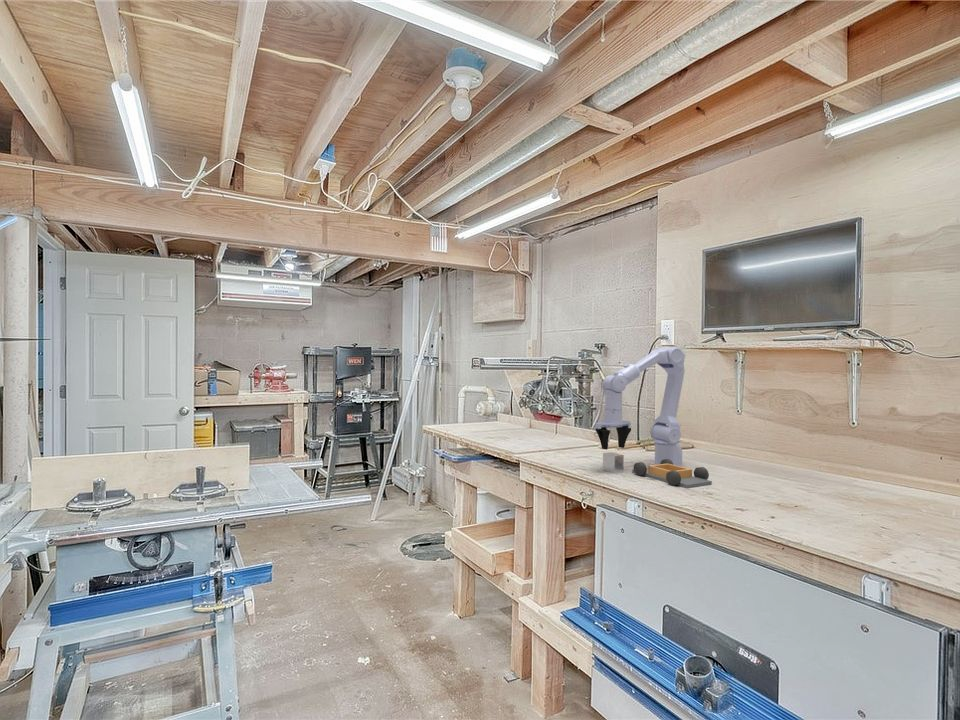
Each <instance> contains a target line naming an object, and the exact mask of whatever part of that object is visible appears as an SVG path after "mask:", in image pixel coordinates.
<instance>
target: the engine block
mask: <svg viewBox="0 0 960 720" xmlns="http://www.w3.org/2000/svg"><path fill="white" fill-rule="evenodd" d="M624 457H625V456H624V455H623V454H620V453H615V452H614V451H613V452H612V451H610V452H602V471H605V472H609V473H612V474H623V473H624V464H625V463H624Z"/></svg>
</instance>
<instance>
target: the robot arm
mask: <svg viewBox="0 0 960 720" xmlns="http://www.w3.org/2000/svg"><path fill="white" fill-rule="evenodd" d="M685 359H686V354H685V353H684V351H683V350H682V348H680V347H679V346H673V347H672V346H671V347H669V346H668V347H662V346H659V347H657V348H655V349H653V350H651V351H650V353H649V354H647V355H646V356H644V357H642V358H641V359H640V360H639V361H637V362H636V363H635V364H632V363H629V364H628V363H626V364H623V367H622V368H621V369H619V370H618V371H617V370H616V371H614V372H613V374H611V375H607V376H605V377H604V379H603V381H602V383H601V387H602V388H603V390H604V395H605V396H604V397H605V398H604V402H605V403H604V405H605V406H604V420H603V421H599V422H595V425H594V427H595V428H594V429H595V432H596V434H597V436H598V438H599V442H600V445H601V449H602V450H608V449H609V448H608V447H609V437H610V434H611V430H609V429H612V428H615V429H616V433H617V444H618V448H622V449H624V448H625V446H626V443H627V442H626V441H627V439H628V437H629V435H630V433H631V431H632V421H631V420H623V392H624V391H625V390H626V388H627V385H629V384H631V383H632V382H633V381H635V380H637V379H638V378H640V375H641V374H640V373H642V372H643V371H645V370H647V369H649V368H650V367H652V366H653V365H656V364H657V365H658V366H660V367H661V368H662V369H663V370H664V371H665V372H666V374H667V377H666V382H665V388H664V393H663V399H662V403H661V408H660V414H659V416H658V417H655V419H654V423H653V425H652V426H651V428H650V437H651V438H652V439H653V443H654V464H648V466H651V465H659V464H660V463H661V461H662V460H664V459H670V460H671V461H672V462H673V465H676V466H680V467H684V466H683V448H682V446H681V444H679V443H678V442H680V440H681V436H682V433H681V424H680V421H678V419H677V414H678V408H679V403H680V398H681V394H682V393H681V392H682V387H683V382H684V377H685V376H684V375H685V364H684V363H685Z"/></svg>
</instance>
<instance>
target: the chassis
mask: <svg viewBox="0 0 960 720" xmlns="http://www.w3.org/2000/svg"><path fill="white" fill-rule="evenodd" d="M650 465H651V466H649V465H648V466H646V464H645V463H644V462H642V461H638V462H635V463H634V464H633V469H632V470H631V473H632V474H635V475H636V476H638V477H639V476H640V477H641V476H643V477H646V478H650V479H654V480H656V481H661V482H664V483H667V484H669V486H677V487H680V488H681V487H682V488H685V489H690V488H697V487H703V486H711V485H712V484H713V483H712V482H713V481H711V480H708V479H709V477H710V473H709V471H708V469H707V468H705V467H704V466H698V467H695V468H694V470H693V469H692V468H688V467H685V466H683V467H680V466H676V465H673V462H672V461H671V460H670V459H664V460H662V461H661V463H660V464H659V465H652V464H650Z"/></svg>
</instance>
